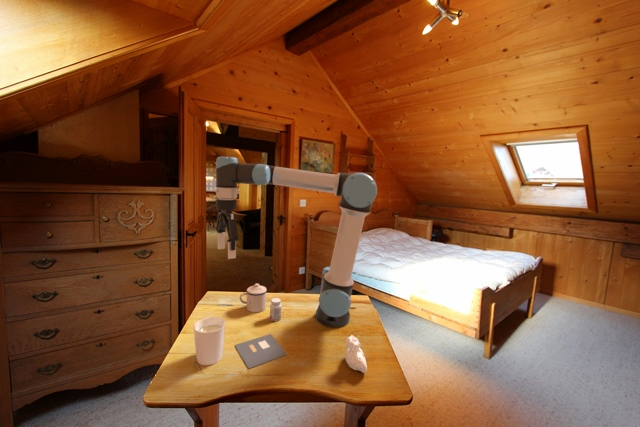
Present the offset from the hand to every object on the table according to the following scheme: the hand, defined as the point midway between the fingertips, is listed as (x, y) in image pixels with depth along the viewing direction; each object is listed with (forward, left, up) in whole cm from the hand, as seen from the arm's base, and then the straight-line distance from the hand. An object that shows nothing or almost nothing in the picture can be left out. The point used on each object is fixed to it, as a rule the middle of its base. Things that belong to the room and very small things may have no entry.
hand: (226, 253), depth 108 cm
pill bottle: (-20, +4, -31) cm, 37 cm away
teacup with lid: (-15, -9, -31) cm, 35 cm away
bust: (-30, +44, -31) cm, 62 cm away
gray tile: (-6, +21, -31) cm, 38 cm away
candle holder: (+10, +16, -31) cm, 36 cm away
